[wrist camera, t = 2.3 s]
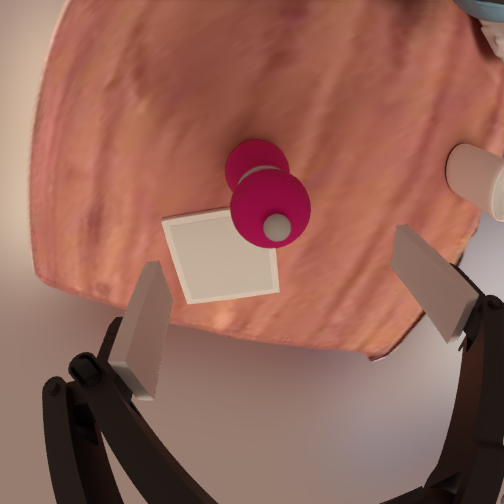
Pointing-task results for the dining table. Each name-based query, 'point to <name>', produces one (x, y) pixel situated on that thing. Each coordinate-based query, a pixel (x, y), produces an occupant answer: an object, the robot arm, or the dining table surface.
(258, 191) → the pepper mill
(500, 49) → the white sculpture
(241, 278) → the plate
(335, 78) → the dining table surface
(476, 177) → the mug
